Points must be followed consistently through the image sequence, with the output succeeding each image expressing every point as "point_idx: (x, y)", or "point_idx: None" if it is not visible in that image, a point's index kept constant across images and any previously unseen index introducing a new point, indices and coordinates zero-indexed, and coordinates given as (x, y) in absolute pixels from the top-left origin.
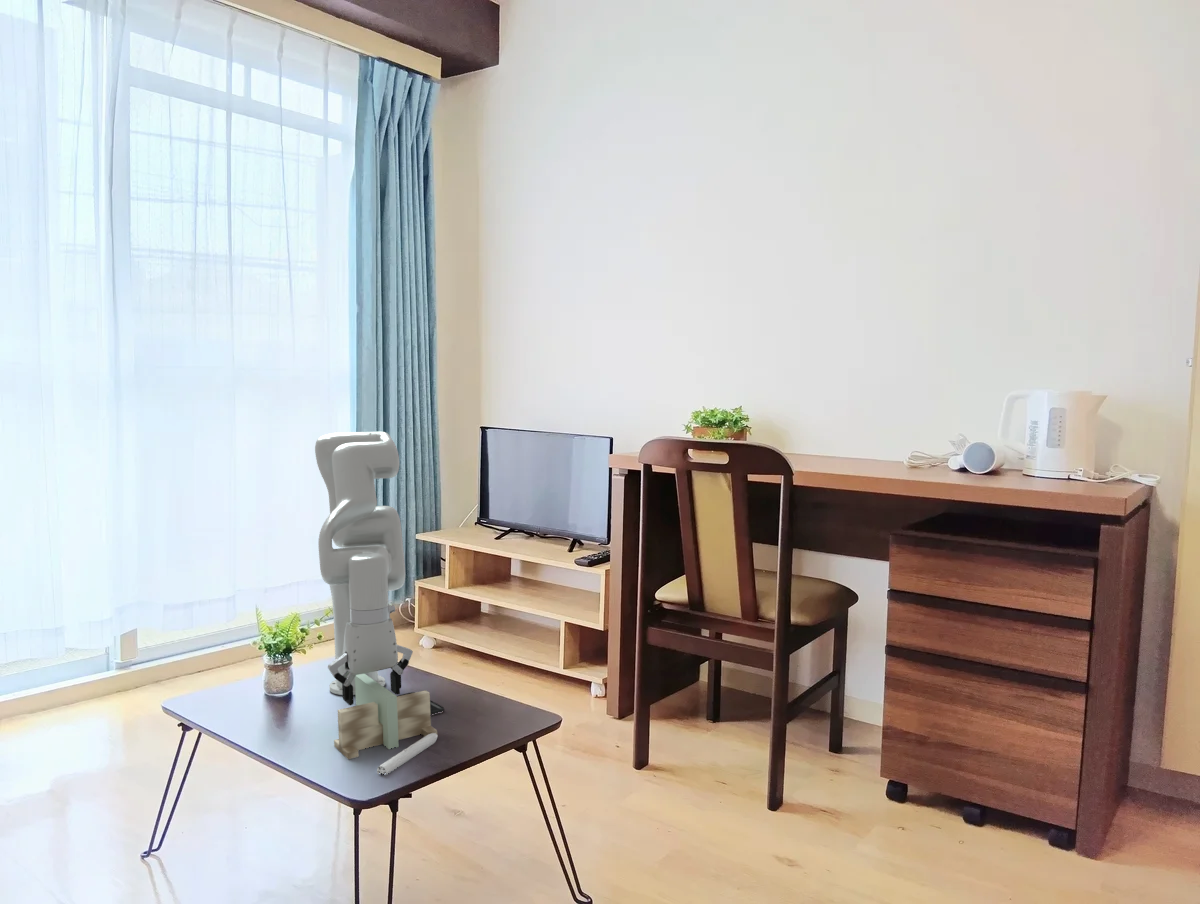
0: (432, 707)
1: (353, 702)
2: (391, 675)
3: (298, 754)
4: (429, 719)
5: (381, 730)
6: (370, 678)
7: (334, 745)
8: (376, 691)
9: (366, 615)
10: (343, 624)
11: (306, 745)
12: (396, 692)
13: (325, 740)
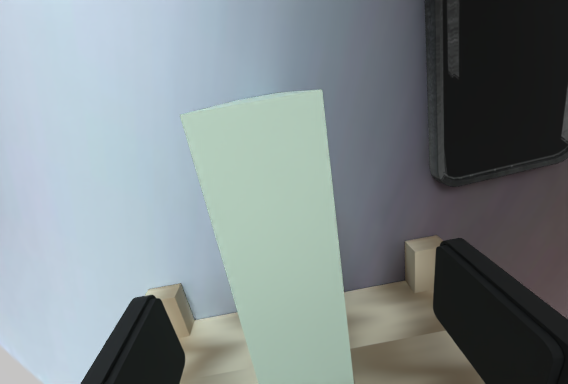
0: (551, 111)
1: (183, 367)
2: (531, 357)
3: (37, 304)
4: None
5: None
6: (338, 319)
7: (148, 293)
8: None
9: None
10: None
11: (51, 247)
12: (441, 321)
13: (116, 231)
